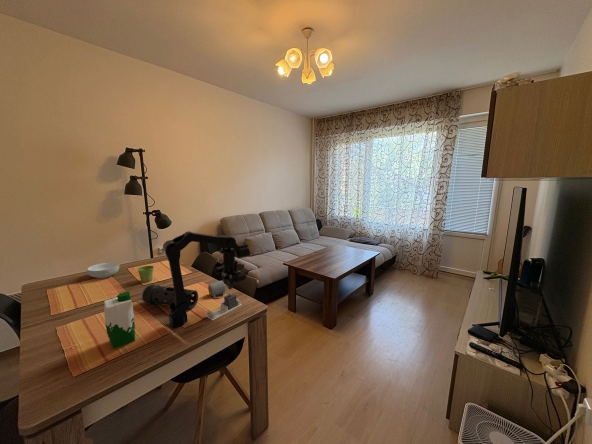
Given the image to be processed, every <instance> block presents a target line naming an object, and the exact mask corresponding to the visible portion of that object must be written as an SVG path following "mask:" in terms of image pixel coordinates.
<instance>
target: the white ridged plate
mask: <svg viewBox="0 0 592 444" xmlns="http://www.w3.org/2000/svg"><path fill="white" fill-rule="evenodd" d="M236 304H237V306H236V307H234V308H232V309H230V310H229V309H228V306H226V305H225V304H224V301H222V302H221V303H220V308H218V309H216V310H214V311H211V310H209V309H208V310H207V314H206V315H205V318H207V319H210V320H211V321H214V320H216V319H219V318H220V317H222V316H224V315H226V314H227V313H229V312H231V311H233V310H234V309H236V308H238V307H240V306H242V305H243V304H242V303H241V300H240V299H239V298H236Z"/></svg>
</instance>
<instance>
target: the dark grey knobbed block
mask: <svg viewBox="0 0 592 444" xmlns="http://www.w3.org/2000/svg"><path fill="white" fill-rule="evenodd" d="M223 298H224V299H223V300H224V301H223V302H224V304H225V305H226V306H228V309H229V310H230V309H232V308H234V307H236V306H237V304H236V299H237V295H236V294H233V293H232V292H229V293H228V294H227V295H224V297H223Z"/></svg>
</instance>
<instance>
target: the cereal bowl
mask: <svg viewBox="0 0 592 444" xmlns="http://www.w3.org/2000/svg"><path fill="white" fill-rule="evenodd" d="M119 269H120V264H119V263H118V262H111V261H110V262H104V263H97V264H94V265H91V266H88V267H87V270H86V271H87V274H88V276H90V277H92V278H98V279H106V278H109V277H111V276H112V275H114V274H117V272H118V271H120V270H119Z"/></svg>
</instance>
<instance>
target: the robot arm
mask: <svg viewBox="0 0 592 444" xmlns="http://www.w3.org/2000/svg"><path fill="white" fill-rule="evenodd" d="M192 242H194V243H201V244H202V243H203V244H211V245H217V246H220V247H221V248H220V249H219V250H218V253H219V254H221V255H222V261H223V262H221V265H220V266H216V267H214V269H213V273H214V274H215V275H219V274H220V273H221V276H220V278H221V279H222V281H223V283H224V284H225V286H227V289H228V290H232V289H233V286H234V284H235V283H240V282H241V281H244V280H246V279H247V274H246V273H245V272H241V271H245V270H244V269H245V263H241V262H238V260H239V259H243V258H248V257H250V255H251V251H250V248H249V247H248V246H249V244H247V243H243V244H237V241H236V238H235V237H233V236H231V235H230V234H229V235H228V234H219V235H213V234H205V233H198V232H194V231H193V232H192V231H189V230H188V231H185V232H184V233H182V234H181V235H178V236H176V237H175V238H173V239H171V240H170V239H169V240H166V241H164V243H163V244H162V249H163V252H164V255H165V256H166V259H167V261H168V266H169V269H170V274H171V275H170V276H171V278H172V279H171V280H172V286H173V288H174V295H173V302H172V303H171V305H170V306H169V305H168V310H169V313H170V314H168V321H169V327H170V328H172V329H173V330H174V329H176V328H177V329H178V328H182V327H183V326H185V324H186V323H188V321H189V320H188V313H187V312H188V309H190V308H189V307H190V303H191V302H192V300H190V294H189V292H188V291H187V290H184V289H185V286H184V281H183V275H182V270H181V265H180V264H181V263H180V260H181V251H183V249H185V248H186V247H187V246H189V244H190V243H192ZM236 258H237V259H238V260H236Z"/></svg>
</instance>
